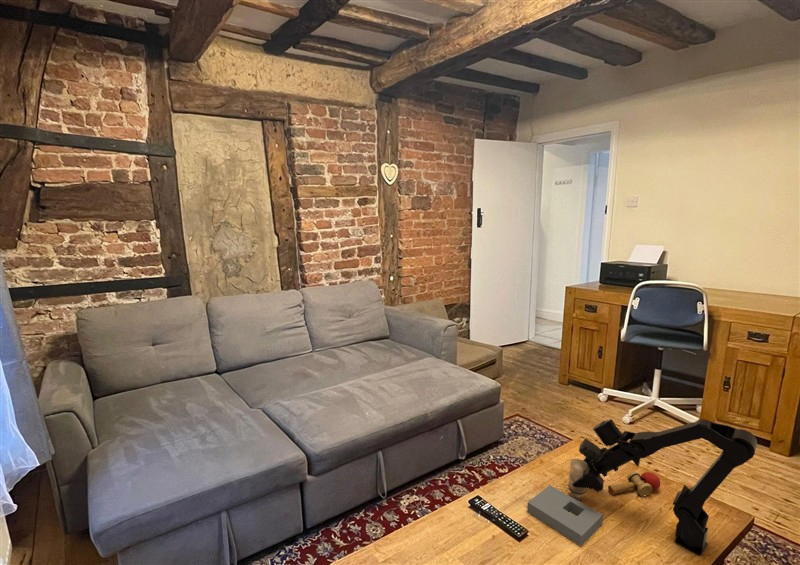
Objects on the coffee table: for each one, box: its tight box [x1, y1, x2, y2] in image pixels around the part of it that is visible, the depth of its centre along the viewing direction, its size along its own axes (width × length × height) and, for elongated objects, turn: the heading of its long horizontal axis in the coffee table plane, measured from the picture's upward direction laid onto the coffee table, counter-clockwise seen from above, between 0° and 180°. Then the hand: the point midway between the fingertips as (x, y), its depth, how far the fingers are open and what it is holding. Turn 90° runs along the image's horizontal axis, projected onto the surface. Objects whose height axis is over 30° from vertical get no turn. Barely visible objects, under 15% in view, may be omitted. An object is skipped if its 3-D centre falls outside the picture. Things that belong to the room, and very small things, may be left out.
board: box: [526, 484, 604, 547], centre depth 131 cm, size 18×13×4 cm
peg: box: [567, 458, 588, 502], centre depth 140 cm, size 6×6×12 cm
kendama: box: [607, 471, 661, 497], centre depth 143 cm, size 8×6×18 cm
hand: (574, 477), depth 140 cm, fingers open, 9 cm apart
